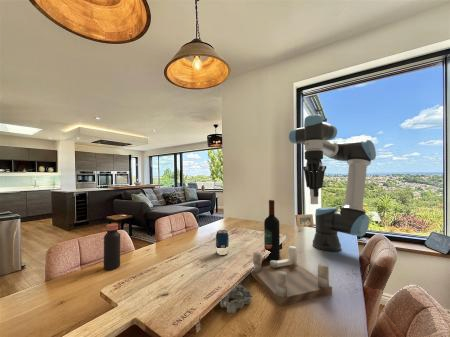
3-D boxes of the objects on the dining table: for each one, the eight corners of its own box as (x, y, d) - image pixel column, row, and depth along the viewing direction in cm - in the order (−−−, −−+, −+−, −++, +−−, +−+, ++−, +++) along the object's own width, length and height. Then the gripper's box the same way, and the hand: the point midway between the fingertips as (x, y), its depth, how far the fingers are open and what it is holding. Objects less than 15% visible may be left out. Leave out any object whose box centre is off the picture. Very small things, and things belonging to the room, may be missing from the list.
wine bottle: (280, 263, 100) (279, 201, 100) (264, 261, 101) (264, 201, 102) (279, 256, 107) (278, 199, 108) (264, 255, 109) (264, 199, 109)
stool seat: (294, 266, 96) (294, 246, 96) (333, 293, 75) (333, 267, 75) (250, 273, 89) (250, 252, 89) (279, 306, 68) (279, 277, 68)
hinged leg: (272, 268, 87) (272, 252, 88) (268, 265, 91) (268, 249, 91) (298, 263, 92) (298, 248, 92) (293, 260, 95) (293, 245, 95)
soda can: (215, 251, 115) (215, 229, 115) (227, 250, 115) (227, 229, 116) (216, 256, 108) (216, 233, 108) (229, 255, 108) (229, 233, 109)
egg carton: (230, 316, 63) (230, 303, 63) (216, 304, 69) (216, 291, 69) (254, 303, 70) (254, 291, 70) (240, 292, 76) (240, 281, 76)
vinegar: (100, 270, 92) (100, 226, 93) (109, 264, 99) (109, 222, 100) (115, 270, 92) (115, 226, 93) (123, 264, 99) (123, 222, 99)
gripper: (297, 151, 96) (298, 202, 95) (316, 148, 83) (316, 206, 83) (311, 152, 97) (312, 201, 97) (331, 149, 85) (332, 206, 84)
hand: (314, 203), depth 90 cm, fingers closed
